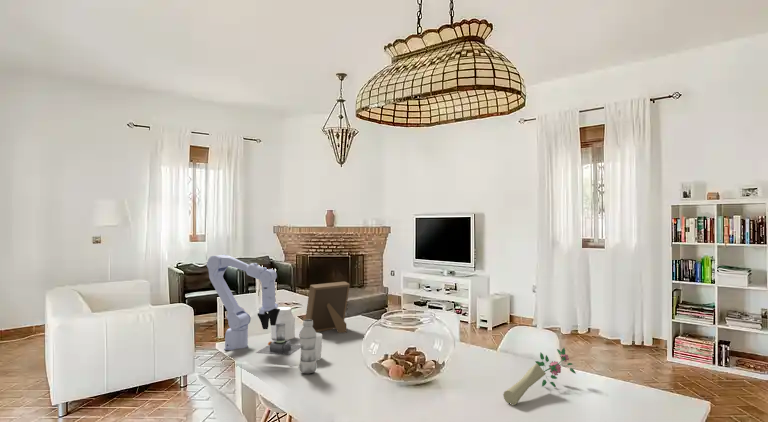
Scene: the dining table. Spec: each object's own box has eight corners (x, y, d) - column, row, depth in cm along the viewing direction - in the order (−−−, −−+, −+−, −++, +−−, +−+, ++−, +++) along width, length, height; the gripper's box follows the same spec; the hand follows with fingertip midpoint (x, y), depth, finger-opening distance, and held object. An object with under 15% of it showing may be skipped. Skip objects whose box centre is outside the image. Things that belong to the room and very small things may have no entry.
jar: (267, 339, 235) (267, 308, 236) (280, 335, 244) (280, 305, 244) (284, 342, 229) (285, 311, 230) (298, 338, 238) (298, 307, 238)
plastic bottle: (313, 376, 182) (313, 322, 182) (296, 374, 183) (296, 322, 184) (319, 370, 188) (319, 319, 188) (302, 369, 190) (302, 318, 190)
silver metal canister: (274, 343, 214) (274, 325, 214) (278, 341, 218) (278, 323, 218) (282, 344, 213) (282, 325, 213) (286, 341, 217) (286, 323, 217)
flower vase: (504, 423, 158) (551, 375, 183) (537, 424, 149) (581, 373, 174) (491, 389, 159) (539, 345, 183) (522, 387, 150) (569, 342, 175)
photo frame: (303, 331, 251) (304, 283, 251) (338, 325, 265) (339, 280, 265) (319, 337, 240) (319, 287, 240) (354, 331, 253) (355, 283, 253)
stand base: (255, 355, 209) (255, 344, 209) (271, 345, 225) (271, 335, 225) (289, 357, 206) (289, 346, 206) (304, 347, 221) (304, 337, 221)
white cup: (320, 361, 200) (320, 337, 201) (301, 361, 201) (301, 337, 201) (323, 355, 208) (323, 332, 208) (305, 355, 208) (305, 332, 209)
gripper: (269, 299, 209) (270, 331, 209) (283, 294, 223) (284, 323, 223) (254, 299, 210) (255, 330, 210) (269, 294, 225) (270, 323, 224)
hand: (269, 327), depth 217 cm, fingers open, 7 cm apart
